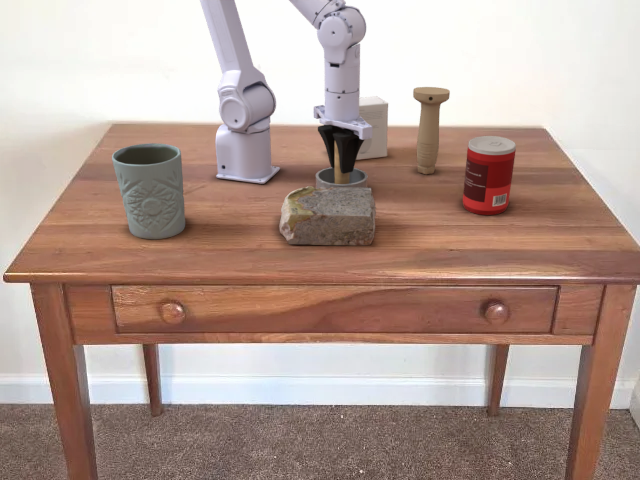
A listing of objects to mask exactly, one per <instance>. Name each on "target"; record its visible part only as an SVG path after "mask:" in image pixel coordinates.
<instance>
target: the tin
mask: <svg viewBox="0 0 640 480" xmlns="http://www.w3.org/2000/svg"><path fill="white" fill-rule="evenodd" d="M368 178H369V176H368V173H367V172H366V171H364V170H362V169H360V168H356V167H354V169H353V172H350V178H349V184H335V168H332V167H331V166H330V167H326V168H322V169H321V170H318V171H317V172H316V173H315V188H316V189H319V188H320V187H324V188H327V189H330V188H331V187H337V188H368V182H369V181H368Z"/></svg>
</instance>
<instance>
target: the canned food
mask: <svg viewBox="0 0 640 480" xmlns="http://www.w3.org/2000/svg"><path fill="white" fill-rule="evenodd" d="M516 151H517V144H516V142H515V141H514V140H512V139H509V138H506V137H503V136H498V135H482V136H476V137H473V138H471V139H470V140H468V144H467V151H466V159H465V160H466V162H465V171H464V182H463V192H462V193H463V194H462V205H463V207H464V209H465V210H467V211H468V212H470V213H473V214H476V215H481V216H494V215H495V216H496V215H500V214H502V213H503V212H505V211H506V210H507V208H508V205H509V201H510V197H511V196H510V195H511V188H512V182H513V181H512V180H513V173H514V166H515V159H516Z"/></svg>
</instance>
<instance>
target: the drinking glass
mask: <svg viewBox="0 0 640 480" xmlns="http://www.w3.org/2000/svg"><path fill="white" fill-rule="evenodd" d="M111 161H112V165H113V168H114V173H115V176H116V180H117V183H118V188H119V192H120V196H121V198H122V204H123V208H124V211H125V216H126V219H127V225H128V229H129V233H130V234H131V235H132V236H134V237H136V238H139V239H144V240H162V239H168V238H171V237H174V236H177V235H179V234H180V233H182V232H183V231H184V230H185V228H186V212H185V211H186V209H185V197H184V176H183V163H182V151H181V149H180V148H179V147H177V146H175V145H172V144H167V143H153V142H152V143H151V142H149V143H138V144H132V145H128V146H125V147H122V148H119V149H118V150H115V151H114V152H113V153H112V155H111Z"/></svg>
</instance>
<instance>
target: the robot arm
mask: <svg viewBox="0 0 640 480" xmlns="http://www.w3.org/2000/svg"><path fill="white" fill-rule="evenodd" d="M288 1H289V3H291V4H292V6H293V7H295V9H296V10H297V11H298V12H299V13H300V14H301V15H302V16H303V17H304V18H305V19H306V20H307V21H308V22H309V23H310V25H311V26H313V28H314V29H315V30H316V36H317V40H318V42H319V44H320V45H321V47H322V49H323V58H324V59H323V61H324V62H323V63H324V64H323V65H324V104H320V105H316V106H315V105H314V106H313V119H316V120H319V123H320V124H321V125H319V126H317V132H318V134H319V135H320V137H321V140H322V141H323V144H324V147H325V149H326V154H327V157H328V161H329V164H330V167H332V168H335V153H334V140H335V141H336V144H337V148H338V153H339V163H340V170H341V173H343V174H345V173H349V172H353V169H354V168H355V165H356V162H357V160H356V158H357V155H358V152H359V149H360V147H361V145H362V143H363V142H364V140H365V139H369V138H372V129H373V126H371V125H369V124H368V123H367V122H366V121H365V120H364V119H363V118H362V117H361V116H360V115H359V98H360V95H361V93H360V88H361V86H360V85H361V42H362V41H363V40H364V38H365V36H366V33H367V22H366V19H365V17H364V15H363V14H362V12H361V11H360V9H359V8H358V7H356V6H353V5H346V4H347V2H346V0H288ZM199 3H200V6H201V9H202V12H203V15H204V19H205V22H206V26H207V28H208V32H209V34H210V38H211V41H212V44H213V47H214V50H215V53H216V58H217V60H218V63H219V64H218V65H219V67H220V70H221V73H222V76H221V79H220V81H219V83H218V84H219V85H218V87H217V89H216V91H217V95H218V98H219V104H218V105H219V107H218V111H219V116H220V119H221V121H222V122H223V123H222V124H221V125H219V127H218V128H217V129H216V134H215V143H214V144H215V155H216V156H215V157H216V166H217V174H216V175H215V177H216V178H217V179H222V180H223V179H224V180H229V181H237V182H245V183H254V184H260V185H261V184H262V185H263V184H266V183H267V182H268V181H269V180H271V179H272V178H273V177H274V176H275V175H277V173H278V172H279V171H280V170H281V167H280V166H274V165H273V164H272V162H273V161H272V142H271V141H272V139H271V116H273V115H274V113H275V111H276V109H277V99H276V96H275V93H274V92H273V90H272V88H270V86H269V85H268V82H267V80H266V76H265V74H264V73H263V72H262V71H260V70H259V69H258V68H256V66H254V62H253V59H252V56H251V52H250V48H249V46H248V42H247V39H246V35H245V32H244V29H243V25H242V22H241V18H240V15H239V11H238V8H237V4H236V1H235V0H199Z"/></svg>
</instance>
